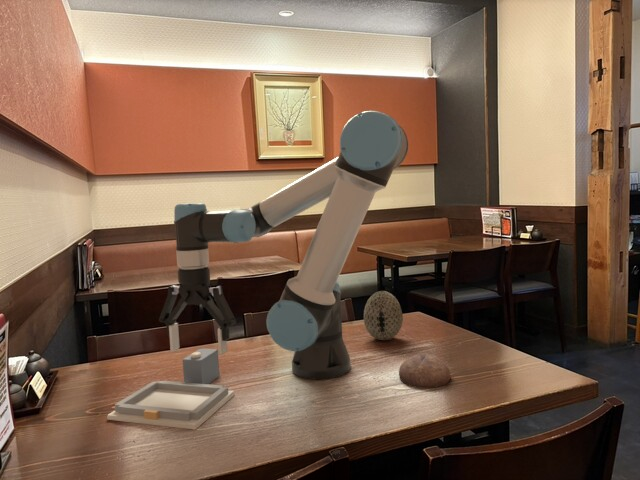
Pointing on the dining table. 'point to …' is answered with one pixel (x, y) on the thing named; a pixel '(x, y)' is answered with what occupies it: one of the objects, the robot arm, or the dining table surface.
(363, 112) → the robot arm
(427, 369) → the brown dome
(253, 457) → the dining table surface
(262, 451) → the dining table surface
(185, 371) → the block
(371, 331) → the decorative egg
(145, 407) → the board
